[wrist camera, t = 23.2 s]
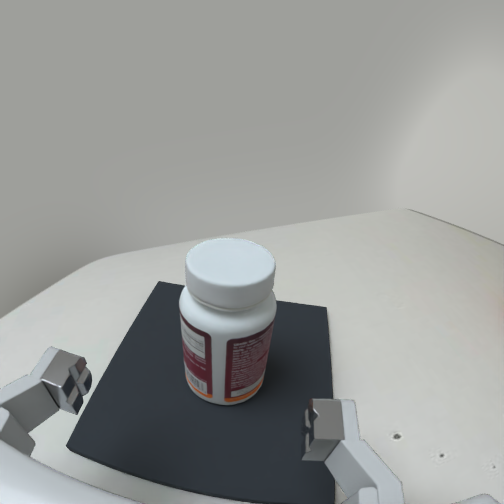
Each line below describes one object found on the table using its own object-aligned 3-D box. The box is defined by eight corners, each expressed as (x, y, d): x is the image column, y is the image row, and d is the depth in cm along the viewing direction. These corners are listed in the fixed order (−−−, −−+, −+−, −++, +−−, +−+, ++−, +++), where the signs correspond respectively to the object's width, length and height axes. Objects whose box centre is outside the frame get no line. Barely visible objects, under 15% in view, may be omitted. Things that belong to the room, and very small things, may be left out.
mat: (331, 507, 11) (334, 504, 11) (69, 450, 12) (65, 445, 12) (324, 312, 25) (326, 306, 25) (159, 286, 26) (158, 280, 26)
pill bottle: (264, 351, 20) (283, 238, 16) (261, 411, 16) (286, 297, 12) (192, 342, 20) (190, 228, 16) (177, 400, 16) (163, 282, 12)
